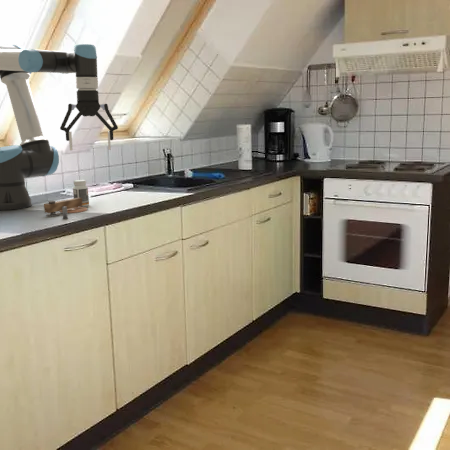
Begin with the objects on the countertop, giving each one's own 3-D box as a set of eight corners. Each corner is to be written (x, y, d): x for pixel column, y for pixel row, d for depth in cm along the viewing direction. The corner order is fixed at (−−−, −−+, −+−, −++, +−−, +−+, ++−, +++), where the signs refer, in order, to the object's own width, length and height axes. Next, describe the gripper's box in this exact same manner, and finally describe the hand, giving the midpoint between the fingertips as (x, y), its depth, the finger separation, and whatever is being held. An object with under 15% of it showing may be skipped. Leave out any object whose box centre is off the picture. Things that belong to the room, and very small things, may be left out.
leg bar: (49, 212, 207) (48, 202, 206) (44, 212, 208) (43, 202, 208) (82, 205, 220) (81, 196, 219) (78, 205, 222) (77, 195, 221)
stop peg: (61, 218, 203) (61, 207, 202) (65, 217, 204) (64, 206, 203) (65, 219, 202) (64, 207, 201) (68, 218, 203) (67, 206, 203)
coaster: (54, 211, 217) (53, 210, 217) (74, 207, 225) (74, 206, 225) (73, 213, 212) (73, 212, 211) (93, 209, 220) (93, 208, 220)
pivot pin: (43, 215, 209) (43, 212, 209) (53, 213, 213) (53, 210, 213) (52, 216, 207) (52, 213, 207) (61, 214, 211) (61, 211, 210)
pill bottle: (90, 204, 231) (88, 179, 229) (87, 206, 226) (85, 181, 224) (75, 204, 231) (74, 179, 229) (72, 207, 225) (70, 181, 223)
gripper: (49, 89, 202) (53, 151, 207) (123, 89, 207) (125, 150, 211) (52, 89, 210) (55, 149, 214) (122, 89, 214) (125, 148, 219)
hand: (90, 149), depth 213 cm, fingers open, 13 cm apart
